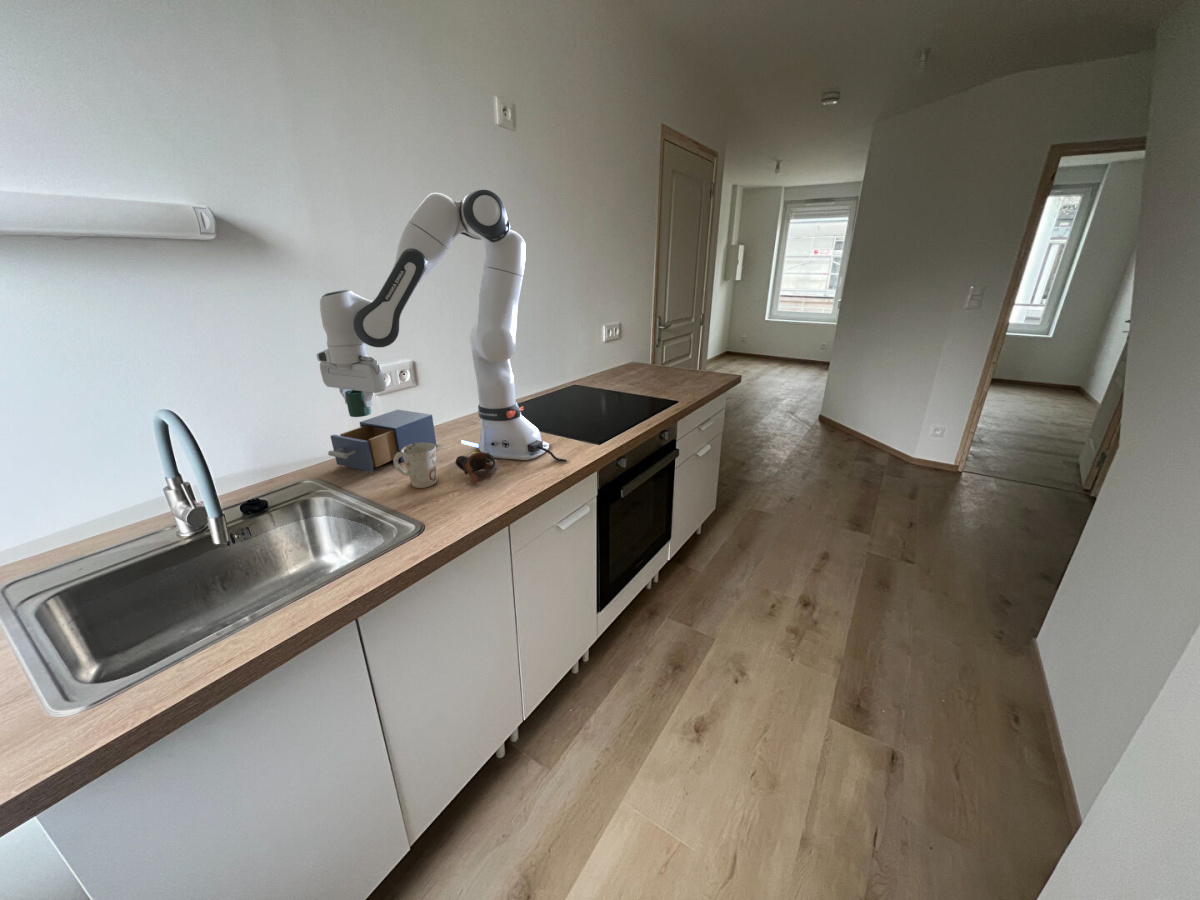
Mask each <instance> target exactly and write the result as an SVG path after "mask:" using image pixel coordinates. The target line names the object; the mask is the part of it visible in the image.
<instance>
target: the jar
mask: <svg viewBox="0 0 1200 900" xmlns="http://www.w3.org/2000/svg"><path fill="white" fill-rule="evenodd" d="M345 397H346V401H347V404H346V405H347V406H346V407H347V410H348V415H349V417H351V418H361V417H367V416H370V415H371V414H372V409H371V406H370V407H364V406H363V403H362V401H363V400H364V397H365V395H363V392H362V391H356V390H350V391H346V392H345Z"/></svg>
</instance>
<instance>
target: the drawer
mask: <svg viewBox="0 0 1200 900" xmlns="http://www.w3.org/2000/svg"><path fill="white" fill-rule="evenodd" d="M329 438H330V441H331V444H332V449H333V450H329V451H327V455H328V456H331V457H334V458H335V462H336V465H337V466H341V467H342V466H343V467H347V468H351V469H355V470H360V471H365V472H369V473H372V472H374V471H375V468H378V467H381V466H383V465H385V464H387V463H389V462H391V461H393V460H394V456H395V455H396V454H397V453H398V450H397V445H396V439H395V434H394V430H388V429H383V428H377V427H371V426H362V427H360V426H359V427H357V428H354V429H351V430H347V431H345V432H341V433H340V434H331V435H330V437H329Z"/></svg>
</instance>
